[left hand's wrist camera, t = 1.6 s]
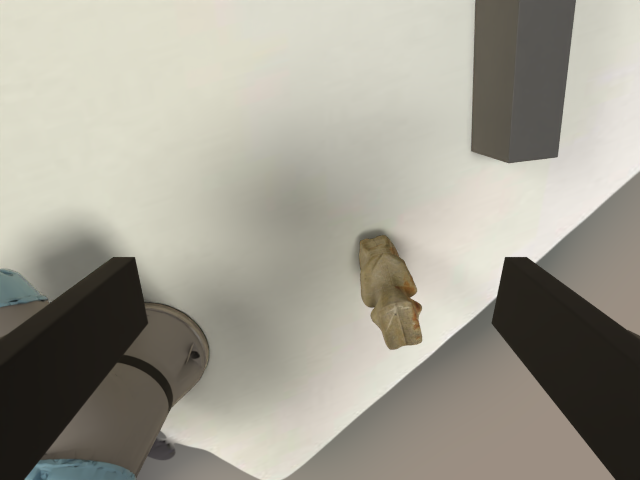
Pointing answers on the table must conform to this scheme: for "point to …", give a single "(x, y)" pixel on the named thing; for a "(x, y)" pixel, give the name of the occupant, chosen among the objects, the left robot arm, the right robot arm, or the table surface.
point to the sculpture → (389, 292)
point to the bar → (520, 77)
